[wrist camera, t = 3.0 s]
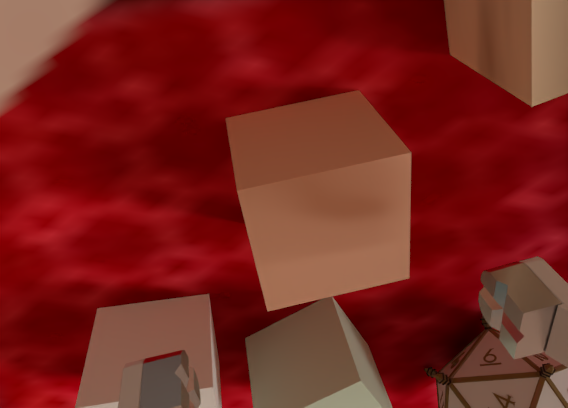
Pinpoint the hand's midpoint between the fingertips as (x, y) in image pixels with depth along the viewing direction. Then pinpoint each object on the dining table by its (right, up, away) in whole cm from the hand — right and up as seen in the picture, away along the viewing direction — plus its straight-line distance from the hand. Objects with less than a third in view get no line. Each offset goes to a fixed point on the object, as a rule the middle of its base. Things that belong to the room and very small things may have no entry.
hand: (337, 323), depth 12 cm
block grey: (-7, -3, +10) cm, 13 cm away
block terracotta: (-1, +5, +6) cm, 8 cm away
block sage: (0, -4, +12) cm, 13 cm away
